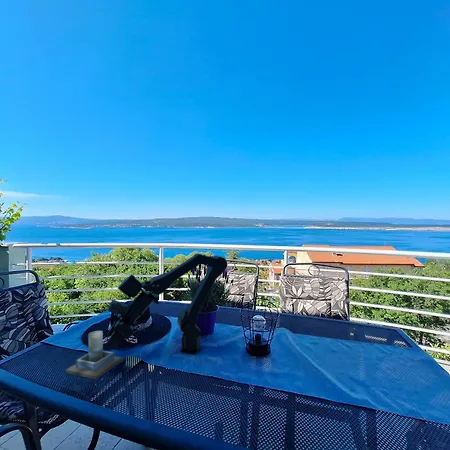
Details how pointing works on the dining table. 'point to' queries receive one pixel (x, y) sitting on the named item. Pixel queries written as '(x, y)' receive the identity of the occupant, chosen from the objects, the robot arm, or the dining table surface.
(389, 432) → the dining table surface
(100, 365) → the socket
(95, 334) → the peg
